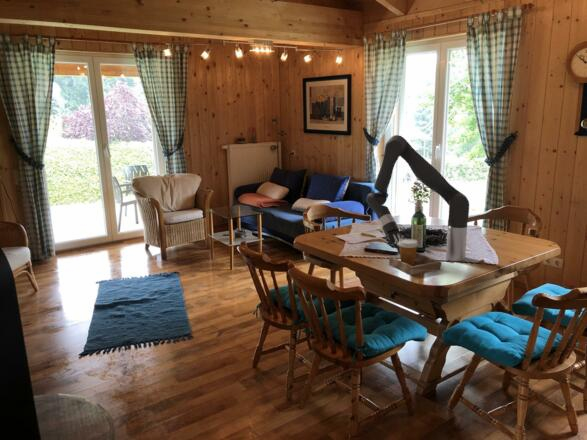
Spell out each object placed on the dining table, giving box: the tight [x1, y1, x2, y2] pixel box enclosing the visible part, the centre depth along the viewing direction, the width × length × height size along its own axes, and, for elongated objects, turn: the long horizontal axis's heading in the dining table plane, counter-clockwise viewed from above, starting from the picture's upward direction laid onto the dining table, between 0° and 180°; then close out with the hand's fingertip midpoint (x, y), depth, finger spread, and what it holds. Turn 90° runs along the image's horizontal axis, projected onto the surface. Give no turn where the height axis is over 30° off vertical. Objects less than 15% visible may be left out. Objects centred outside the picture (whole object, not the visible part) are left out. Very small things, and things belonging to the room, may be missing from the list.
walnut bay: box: [388, 251, 442, 277], centre depth 225 cm, size 18×17×4 cm
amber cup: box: [398, 238, 419, 266], centre depth 229 cm, size 10×10×12 cm
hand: (402, 253), depth 233 cm, fingers closed
